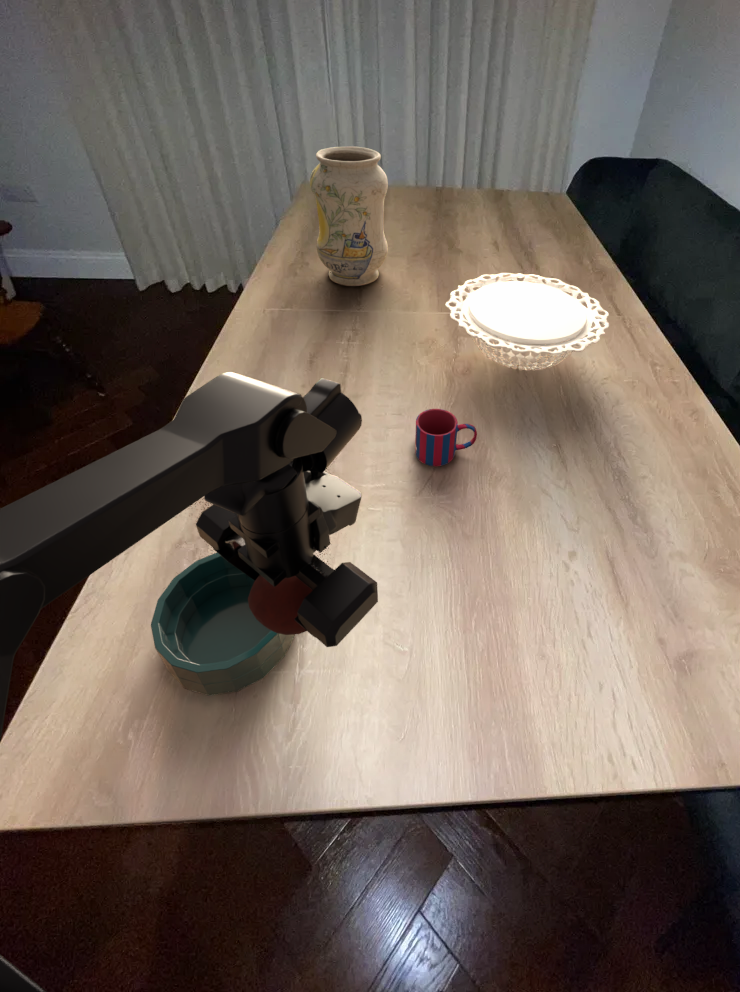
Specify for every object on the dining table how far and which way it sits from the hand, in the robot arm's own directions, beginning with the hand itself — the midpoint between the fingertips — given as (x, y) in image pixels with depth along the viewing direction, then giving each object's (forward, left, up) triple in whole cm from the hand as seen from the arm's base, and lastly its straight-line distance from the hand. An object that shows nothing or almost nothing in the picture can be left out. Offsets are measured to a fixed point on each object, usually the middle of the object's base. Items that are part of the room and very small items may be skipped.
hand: (294, 606), depth 54 cm
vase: (+75, +64, -12) cm, 99 cm away
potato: (0, 0, -2) cm, 2 cm away
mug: (+37, +7, -12) cm, 39 cm away
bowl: (-3, +9, -11) cm, 15 cm away
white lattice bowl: (+69, +11, -12) cm, 71 cm away
